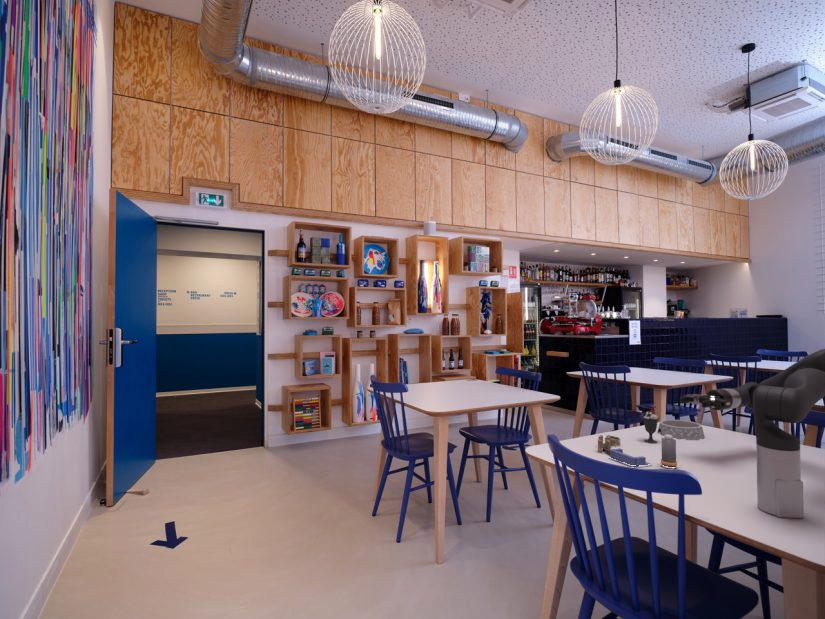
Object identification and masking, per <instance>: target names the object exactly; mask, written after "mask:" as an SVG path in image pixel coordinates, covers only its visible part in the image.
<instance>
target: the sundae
mask: <svg viewBox="0 0 825 619" xmlns="http://www.w3.org/2000/svg"><path fill="white" fill-rule="evenodd" d="M655 408H657V406H654V407H653V408H652V409H650V410H648V411H646V412H645V411H642V414H643V416H641V418H642V419H643V425H644V429H645V431H646V432H647V433H648V435H649V436H648V438H647V439H644V442H645V443H647V442H648V443H649V444H657V443H658V441H656V440H655V439H653V438H654V437H653V434H654V433H655V432H657V428H658V421H659V420H660V417H659V416H658V415H657V413H656V411H655ZM648 443H647V444H648Z"/></svg>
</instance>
